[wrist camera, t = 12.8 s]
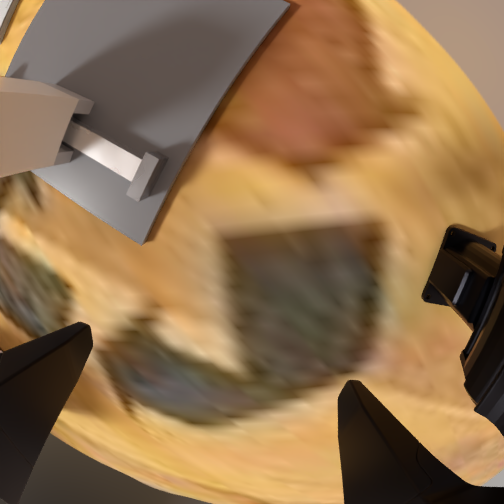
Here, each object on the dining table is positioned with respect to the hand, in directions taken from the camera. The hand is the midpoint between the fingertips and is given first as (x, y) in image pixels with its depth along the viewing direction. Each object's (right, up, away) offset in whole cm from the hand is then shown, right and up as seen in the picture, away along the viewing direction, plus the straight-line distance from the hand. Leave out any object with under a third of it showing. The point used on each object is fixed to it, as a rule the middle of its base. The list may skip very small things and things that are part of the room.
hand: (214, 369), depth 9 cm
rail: (-14, +14, +8) cm, 21 cm away
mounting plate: (-11, +18, +7) cm, 22 cm away
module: (-13, +14, +8) cm, 21 cm away
